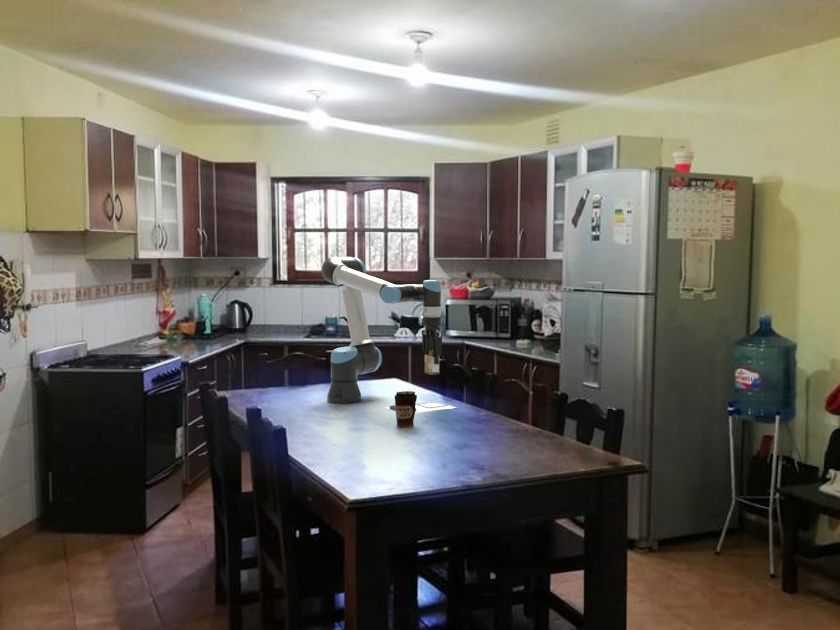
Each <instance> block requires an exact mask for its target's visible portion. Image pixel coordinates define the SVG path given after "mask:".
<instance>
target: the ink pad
mask: <svg viewBox="0 0 840 630" xmlns="http://www.w3.org/2000/svg"><path fill="white" fill-rule="evenodd" d="M389 406H390V409H392V410H391V411H393V410H394V411H393V412H396V409H395V404H394V405H393V404H391V405H389ZM390 409H389V410H390ZM415 411H416V408H415Z"/></svg>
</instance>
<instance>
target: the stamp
mask: <svg viewBox="0 0 840 630" xmlns="http://www.w3.org/2000/svg"><path fill="white" fill-rule="evenodd" d="M432 355H433V349H431V350H429V355H425V354H424V374H426V375H433V376H434V375H440V362H439V363H438V372H432Z"/></svg>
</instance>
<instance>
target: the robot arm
mask: <svg viewBox="0 0 840 630" xmlns="http://www.w3.org/2000/svg"><path fill="white" fill-rule="evenodd" d="M320 270H321V271H320V272H321V274H322V277H323V279H324V280H325V281H327V282H328V283H332V284H334V285H337V288H338V289H339V291H341V293H342V296H343V299H342V300H343V304H344V308H345V315H346V319H347V320H346V321H347V325H348V331H349V337H350V340H351V341H350V342H351V343H350V344H349V345H348V346H341V347H337V348H335V349H333V350H332V351H331V353H330V385H329V389H328V392H327V395H326V400H327V402H328V403H333V404H353V403H358V402H361V401H362V393H361V390H360V387H359V384H358V376H359V375H364V374H365V375H366V374H370V373H373V372H376V371H377V370H378V369H379V368H380V366H381V365H382V360H383V357H382V352H381V350H380V349H379V348H378V347H376V345H375V341H373V339H371V338H370V337H371V336H370V333H369V326H368V320H367V315H366V311H365V304H364V300H363V294H362V293H364V294H365V293H366V294H368V295H371V296H373V297H376V298H379V299H381V301H383V302H384V303H385V304H391V305H392V304H402V303H422V305H423V308H422V312H423V313H422V315H423V318H422V325H423V326H424V327H425V328H424V329H423V330H421V336H422V338H421V340H422V341H421V342H422V343H421V345H422V346H421V347H422V348H421V351H422V353H423V354H424V356H425V355H429V350H433V355H432V372H438V363H439V364H440V356H442V355H443V336H444V335H443V334H444V333H443V332H442V331H440V329H439V327H440V326H441V324H442V318H441V316H442V305H441V304H442V302H441V298H442V297H441V296H442V287H441V286H442V285H441V283H442V282H441V281H440V280H438V279H426V280H423V283H422V284H415V283H413V284H412V283H406V284H394V283H391V282H389V281H386V280H384V279H381V278H377V277H376V276H371V275H368V274H367V273H366V272H367V270H366V266H365V263H364V262H363V261H362V260H361V259H359V258H358V257H354V256H332V257H328V258H327V259H326V260H324V261H323V262H322V266H321V269H320Z"/></svg>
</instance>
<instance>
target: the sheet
mask: <svg viewBox="0 0 840 630" xmlns="http://www.w3.org/2000/svg"><path fill="white" fill-rule="evenodd" d="M390 406H391V405H389V406H384V407H383V408H384V409H388V410H389V411H393V412H395V411H394V410H392V409H390ZM415 408H416V411H415V414H418V413H425V412H426V413H427V412H434V411H443V410H450V409H451V410H452V409H454V408H457V407H456V406H452V405H449V404H446V403H442V402H440V401H436V400H435V401H428V402H419V403H417V402H416V405H415Z"/></svg>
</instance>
